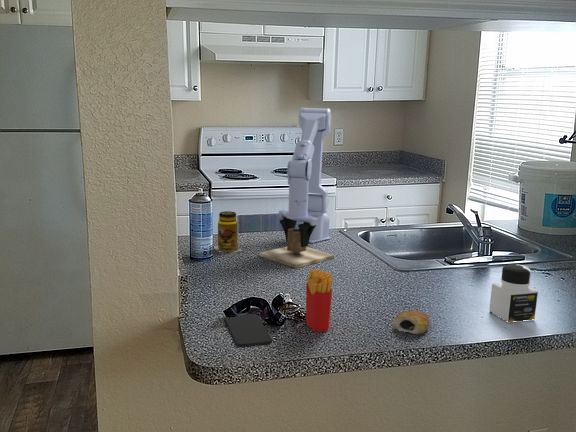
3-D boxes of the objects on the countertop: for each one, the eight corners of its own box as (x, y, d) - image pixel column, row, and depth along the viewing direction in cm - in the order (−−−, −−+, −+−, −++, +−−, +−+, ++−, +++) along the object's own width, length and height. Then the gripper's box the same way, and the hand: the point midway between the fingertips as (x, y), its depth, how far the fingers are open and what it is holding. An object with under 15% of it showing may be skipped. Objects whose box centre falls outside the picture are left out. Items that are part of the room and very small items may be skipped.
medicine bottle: (508, 323, 126) (514, 272, 124) (488, 312, 133) (493, 262, 130) (535, 321, 128) (541, 270, 126) (514, 309, 135) (520, 260, 132)
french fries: (301, 319, 125) (303, 267, 123) (318, 317, 127) (320, 265, 124) (317, 334, 118) (320, 279, 115) (335, 332, 119) (337, 277, 116)
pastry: (406, 316, 129) (407, 300, 128) (435, 323, 126) (437, 307, 125) (391, 330, 121) (392, 314, 120) (421, 338, 118) (423, 321, 117)
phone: (256, 313, 127) (273, 341, 113) (256, 317, 127) (273, 345, 113) (223, 316, 125) (237, 344, 111) (223, 319, 125) (237, 348, 111)
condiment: (221, 254, 174) (221, 215, 171) (211, 247, 181) (211, 210, 179) (243, 251, 177) (243, 213, 175) (232, 244, 185) (232, 208, 182)
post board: (296, 247, 184) (297, 232, 183) (333, 258, 172) (334, 242, 171) (259, 255, 173) (259, 239, 172) (296, 268, 162) (296, 251, 160)
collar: (296, 246, 176) (297, 227, 175) (309, 249, 172) (310, 230, 171) (283, 249, 172) (283, 229, 171) (296, 253, 168) (297, 233, 167)
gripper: (271, 197, 171) (271, 241, 174) (306, 205, 161) (304, 251, 164) (288, 195, 176) (287, 238, 179) (323, 202, 166) (321, 247, 169)
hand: (296, 244), depth 172 cm, fingers closed on collar, 6 cm apart
